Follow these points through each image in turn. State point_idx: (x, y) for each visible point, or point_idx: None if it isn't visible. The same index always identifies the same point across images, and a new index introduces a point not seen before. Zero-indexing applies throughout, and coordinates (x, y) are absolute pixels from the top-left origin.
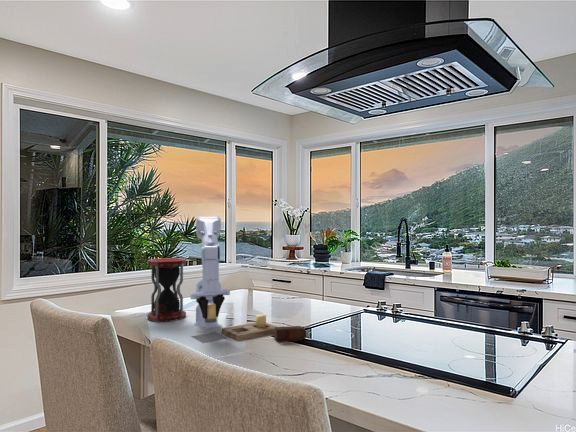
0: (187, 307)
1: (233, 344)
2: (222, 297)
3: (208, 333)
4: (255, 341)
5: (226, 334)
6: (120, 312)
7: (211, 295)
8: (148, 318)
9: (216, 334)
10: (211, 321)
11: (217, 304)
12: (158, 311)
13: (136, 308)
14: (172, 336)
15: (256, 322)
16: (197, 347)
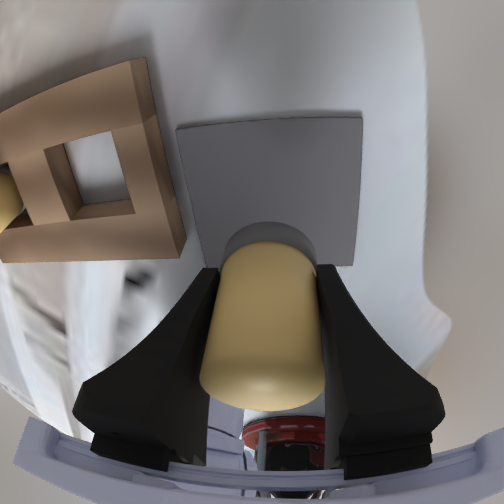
0: None
1: (191, 10)
2: (97, 414)
3: None
4: (62, 29)
5: (170, 193)
6: None
7: (245, 486)
8: None
9: (220, 230)
10: (280, 229)
11: (185, 363)
12: (324, 448)
13: None
14: (402, 305)
15: (2, 211)
16: (414, 78)
